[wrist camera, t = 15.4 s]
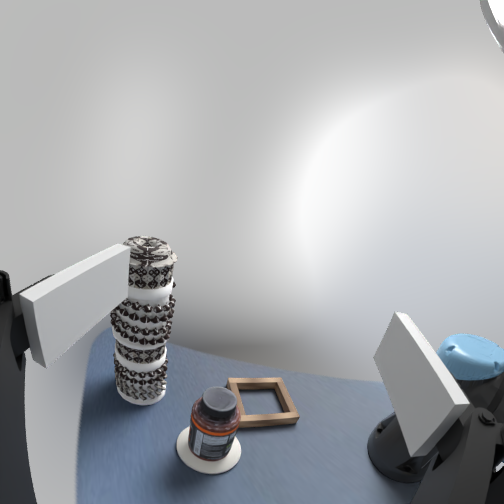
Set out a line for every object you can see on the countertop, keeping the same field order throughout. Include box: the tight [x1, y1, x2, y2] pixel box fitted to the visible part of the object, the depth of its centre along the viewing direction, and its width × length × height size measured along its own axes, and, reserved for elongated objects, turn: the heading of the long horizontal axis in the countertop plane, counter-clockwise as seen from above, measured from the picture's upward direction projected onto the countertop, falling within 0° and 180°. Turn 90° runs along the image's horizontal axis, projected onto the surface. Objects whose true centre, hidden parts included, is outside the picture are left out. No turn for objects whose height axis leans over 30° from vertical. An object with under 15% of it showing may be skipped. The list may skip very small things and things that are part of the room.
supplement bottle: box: [188, 387, 241, 461], centre depth 30 cm, size 6×6×11 cm
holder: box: [227, 378, 300, 428], centre depth 43 cm, size 10×10×2 cm
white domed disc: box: [177, 426, 241, 474], centre depth 32 cm, size 9×9×1 cm
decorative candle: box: [110, 236, 178, 405], centre depth 37 cm, size 9×9×25 cm
